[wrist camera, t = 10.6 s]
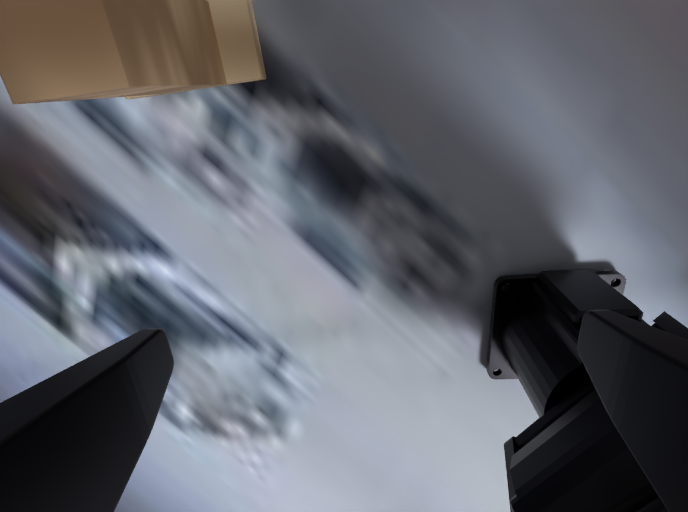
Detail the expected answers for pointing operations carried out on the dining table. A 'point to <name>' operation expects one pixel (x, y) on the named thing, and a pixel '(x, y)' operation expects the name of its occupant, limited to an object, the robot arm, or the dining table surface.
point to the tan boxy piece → (125, 47)
